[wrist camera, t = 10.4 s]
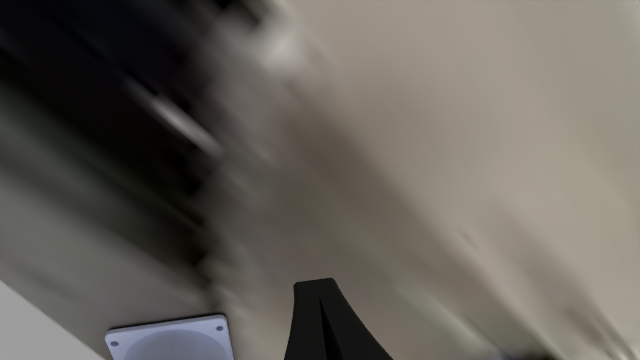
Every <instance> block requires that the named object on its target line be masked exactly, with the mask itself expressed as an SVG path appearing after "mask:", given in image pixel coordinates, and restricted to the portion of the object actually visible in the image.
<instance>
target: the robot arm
mask: <svg viewBox="0 0 640 360" xmlns="http://www.w3.org/2000/svg"><path fill="white" fill-rule="evenodd" d="M293 286H294V310H293V318H292V324H291V330H290V336H289V340H288V345H287V349H286V353H285V357H284V360H393V359H392V358H391V356H390V355H389V354H388V353H387V352H386V351H385V350H384V349H383V348H382V346H381V345H380V344H379V343H378V342H377V341H376V339H375V338H374V337H373V336H372V335H371V333H370V332H369V331H368V329H367V328H366V327H365V326H364V324H363V323H362V322H361V320H360V319H359V318H358V316H357V315H356V314H355V312H354V311H353V309H352V308H351V306H350V305H349V303H348V302H347V300H346V299H345V297H344V296H343V294H342V292H341V291H340V289H339V287H338V285H337V284H336V282H335V280H334V279H333V278H325V279H318V280H310V281H303V282H296V283H295V284H294V285H293ZM218 326H221V327H218ZM105 341H106V343H107V345H108V348H109V350H110V352H111V355H112V357H113V359H114V360H234V357H233V351H232V346H231V341H230V336H229V331H228V326H227V320H226V317H225V316H223V315H213V316H206V317H199V318H192V319H185V320H178V321H171V322H163V323H156V324H149V325H142V326H135V327H128V328H121V329H114V330H110V331H108V332H107V333H106V336H105ZM115 341H116V342H115Z"/></svg>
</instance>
